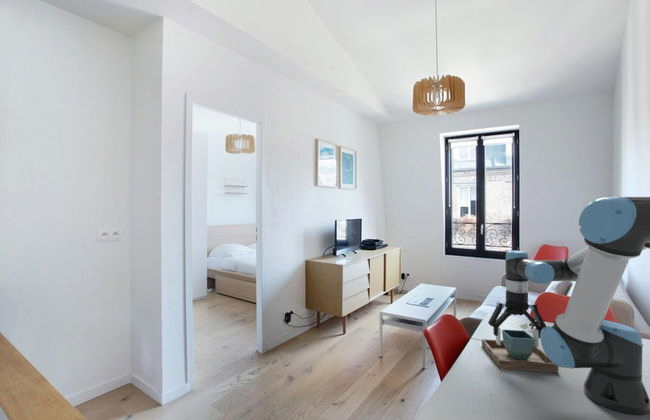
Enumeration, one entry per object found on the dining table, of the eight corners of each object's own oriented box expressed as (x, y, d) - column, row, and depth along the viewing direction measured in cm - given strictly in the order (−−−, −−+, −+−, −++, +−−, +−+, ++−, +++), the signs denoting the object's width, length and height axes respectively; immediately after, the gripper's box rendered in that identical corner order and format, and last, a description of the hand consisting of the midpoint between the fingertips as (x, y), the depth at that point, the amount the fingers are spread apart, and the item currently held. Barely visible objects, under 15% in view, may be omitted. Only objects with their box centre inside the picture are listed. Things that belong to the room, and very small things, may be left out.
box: (558, 372, 116) (558, 364, 116) (499, 368, 119) (499, 360, 119) (531, 349, 135) (531, 341, 135) (481, 346, 138) (481, 339, 138)
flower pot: (524, 352, 131) (524, 330, 130) (535, 362, 122) (535, 339, 122) (501, 351, 132) (501, 329, 132) (510, 361, 123) (510, 337, 123)
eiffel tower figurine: (534, 323, 167) (534, 297, 167) (555, 329, 158) (555, 302, 158) (515, 327, 161) (515, 300, 161) (535, 334, 152) (535, 306, 152)
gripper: (546, 289, 128) (546, 342, 129) (479, 287, 132) (479, 339, 132) (557, 294, 121) (557, 351, 121) (486, 291, 125) (486, 347, 125)
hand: (516, 345), depth 127 cm, fingers open, 13 cm apart
